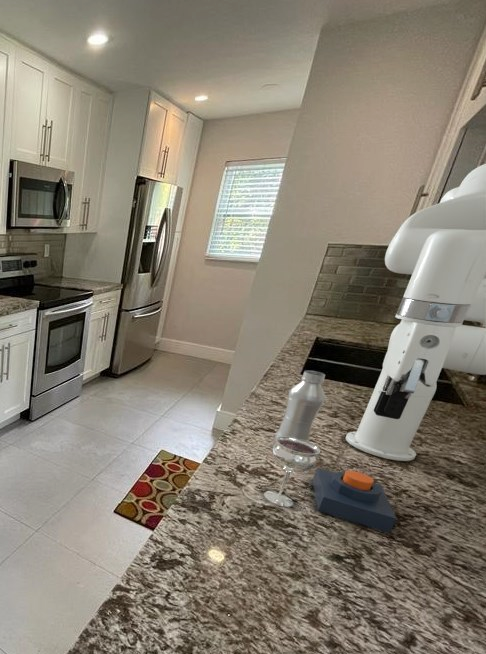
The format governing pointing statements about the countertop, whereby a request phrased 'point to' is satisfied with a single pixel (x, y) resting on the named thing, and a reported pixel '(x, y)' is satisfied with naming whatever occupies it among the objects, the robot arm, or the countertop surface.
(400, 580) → the countertop surface
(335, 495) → the button base
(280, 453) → the wineglass
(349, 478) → the orange button cap
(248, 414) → the countertop surface
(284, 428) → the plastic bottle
